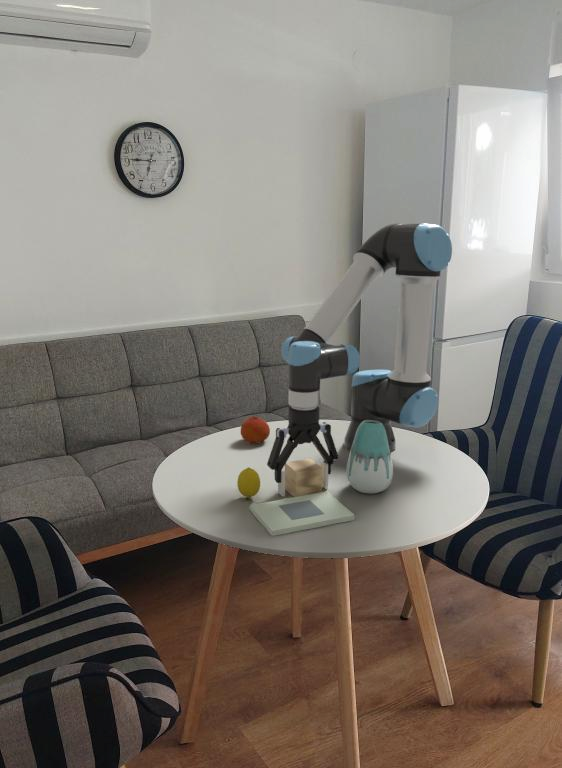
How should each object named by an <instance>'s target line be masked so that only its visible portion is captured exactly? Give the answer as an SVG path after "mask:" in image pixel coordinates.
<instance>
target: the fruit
mask: <svg viewBox="0 0 562 768" xmlns="http://www.w3.org/2000/svg"><path fill="white" fill-rule="evenodd" d="M270 432H271V430H270V426H269V424H268V423H267V422H266V420H264V419H262V418H260V417H258V416H256V415H253V416H250V417H249V418H247V419H245V421H244V422H243V423H242V425H241V427H240V435H241V438H242V439H243V440H244V441H246V442H247V443H249V444H258V443H262V442H264V441H266V440H267V439H268V438H269V436H270Z"/></svg>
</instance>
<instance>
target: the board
mask: <svg viewBox="0 0 562 768" xmlns="http://www.w3.org/2000/svg"><path fill="white" fill-rule="evenodd" d="M249 511H250V512H251V513H252V514H253V515H254V517H255V518H256V519H257V521H259V522H260V524H261V525H262V526H263V527H264V528H265V530H266V531H267V532H268V533H269V534H270V535H271V536H272V537H275V536H280V535H285V534H289V533H290V534H291V533H294V532H295V533H296V532H300V531H305V530H310V529H314V528H315V529H316V528H320V527H325V526H330V525H335V524H339V523H344V522H350V521H354V520H355V514H354V513H353V512H352V511H351V510H349V509H348V508H347V507H346V506H344V505H343V503H341V502H340V501H339V500H337V499H336V498H335V497H334V496H332V494H330V493H329V492H328V491H322V492H321V493H315V494H310V495H304V496H298V497H294V496H293V497H288V498H283V499H277V500H272V501H271V500H270V501H265V502H260V503H252V504H249Z"/></svg>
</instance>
